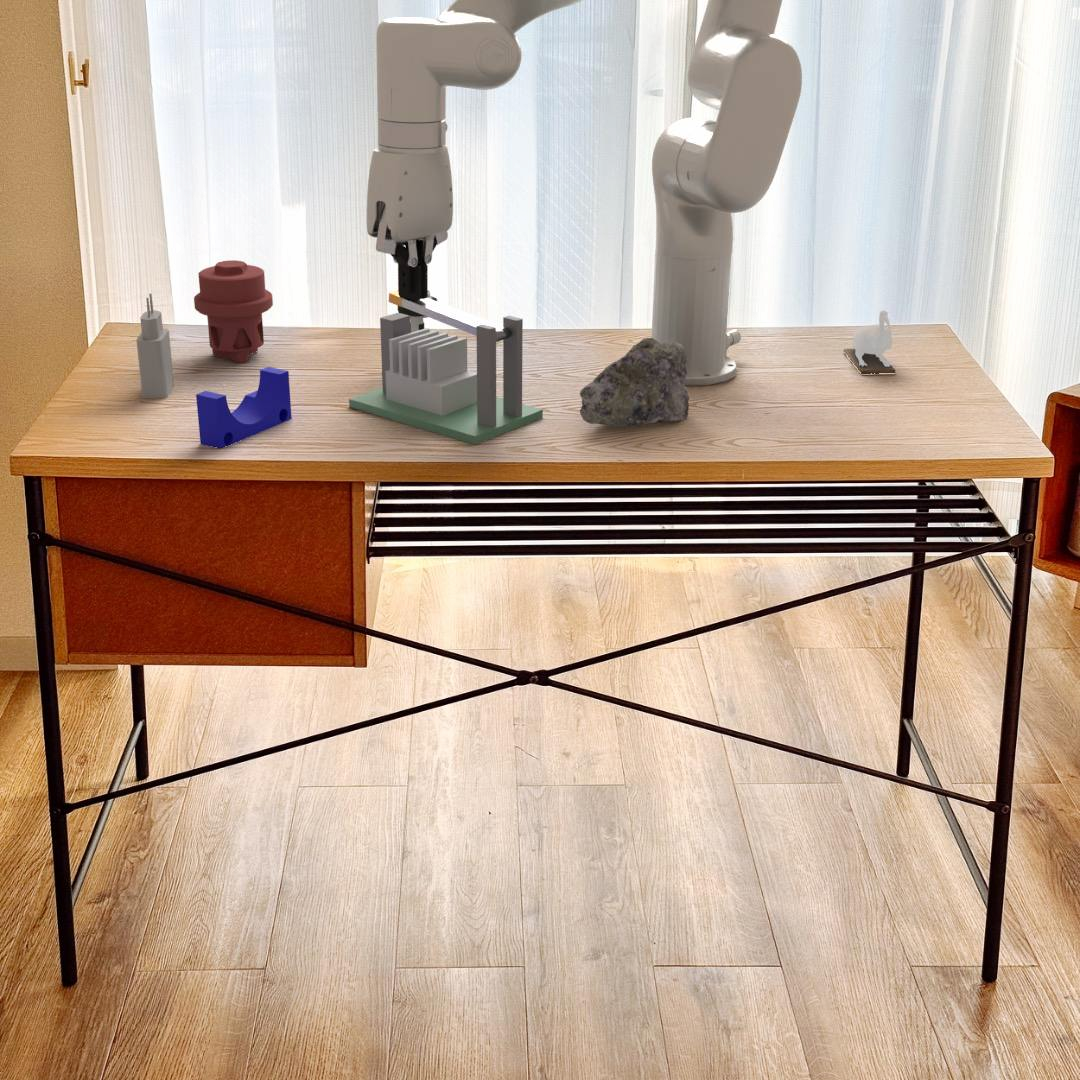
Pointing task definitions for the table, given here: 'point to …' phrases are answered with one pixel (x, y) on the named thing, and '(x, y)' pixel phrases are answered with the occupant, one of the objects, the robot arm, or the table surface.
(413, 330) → the push button
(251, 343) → the mechanical component
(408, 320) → the board
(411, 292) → the robot arm
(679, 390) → the mineral rock
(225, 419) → the blue cradle bracket
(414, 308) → the hinged grey bar
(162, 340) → the power adapter
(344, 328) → the table surface
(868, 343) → the figurine
